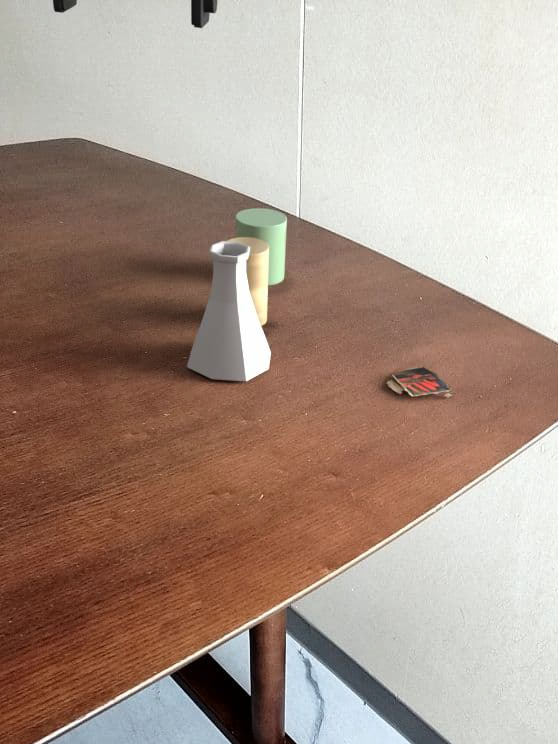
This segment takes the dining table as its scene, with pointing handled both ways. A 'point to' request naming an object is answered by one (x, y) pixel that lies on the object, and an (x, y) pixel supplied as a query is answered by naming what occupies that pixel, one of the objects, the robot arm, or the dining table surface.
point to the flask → (230, 322)
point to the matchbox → (419, 382)
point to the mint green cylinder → (266, 236)
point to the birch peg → (257, 274)
